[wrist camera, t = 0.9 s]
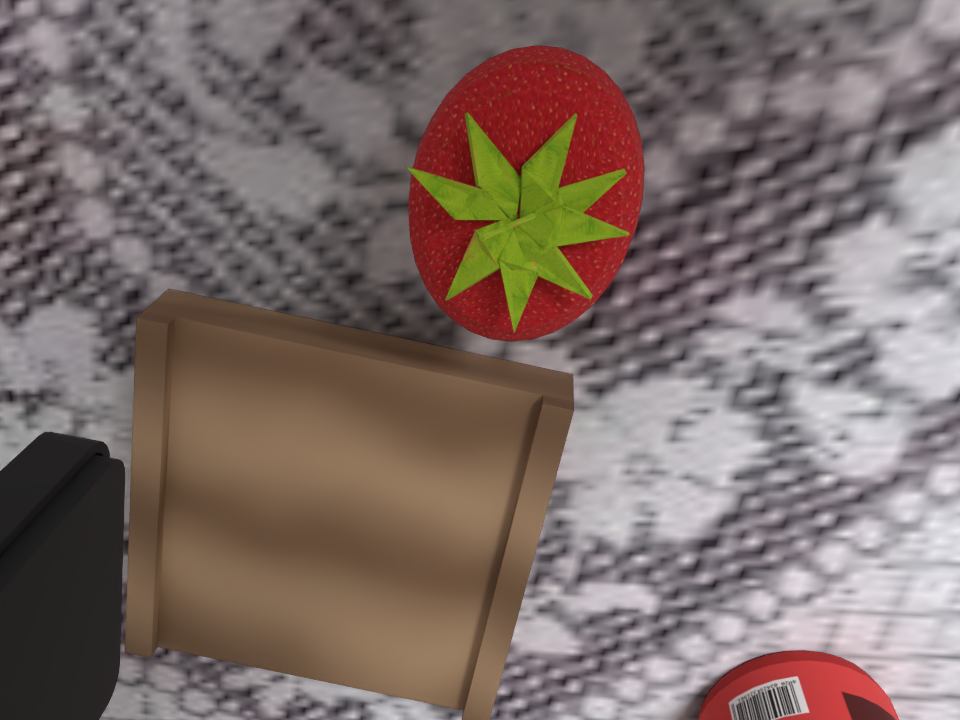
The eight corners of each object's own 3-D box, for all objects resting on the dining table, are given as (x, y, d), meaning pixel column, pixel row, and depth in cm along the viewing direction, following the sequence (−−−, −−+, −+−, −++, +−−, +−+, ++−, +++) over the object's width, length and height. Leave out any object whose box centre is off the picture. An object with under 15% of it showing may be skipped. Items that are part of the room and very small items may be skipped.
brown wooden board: (168, 288, 31) (136, 317, 29) (573, 374, 31) (573, 410, 29) (152, 607, 37) (124, 652, 35) (492, 677, 37) (487, 727, 35)
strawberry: (414, 246, 30) (350, 383, 21) (462, 3, 27) (410, 39, 18) (591, 287, 30) (605, 441, 21) (660, 50, 27) (711, 111, 18)
